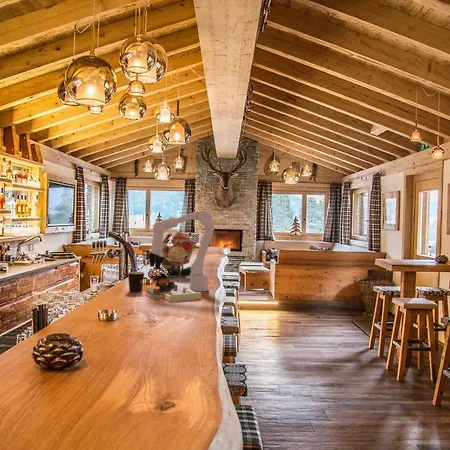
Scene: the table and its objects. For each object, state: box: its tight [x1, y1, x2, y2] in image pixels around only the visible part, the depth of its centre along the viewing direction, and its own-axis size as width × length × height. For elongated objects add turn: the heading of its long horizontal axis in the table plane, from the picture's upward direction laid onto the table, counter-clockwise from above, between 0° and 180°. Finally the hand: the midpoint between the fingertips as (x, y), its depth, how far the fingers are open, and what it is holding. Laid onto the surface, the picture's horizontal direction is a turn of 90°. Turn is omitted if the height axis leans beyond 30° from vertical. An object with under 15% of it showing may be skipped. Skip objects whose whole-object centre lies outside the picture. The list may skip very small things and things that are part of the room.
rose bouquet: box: [161, 230, 196, 280], centre depth 297 cm, size 26×29×30 cm
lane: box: [145, 284, 202, 303], centre depth 229 cm, size 24×31×3 cm
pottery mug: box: [154, 278, 176, 294], centre depth 236 cm, size 12×10×8 cm
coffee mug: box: [127, 271, 145, 294], centre depth 237 cm, size 12×9×10 cm
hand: (154, 267), depth 244 cm, fingers open, 7 cm apart
